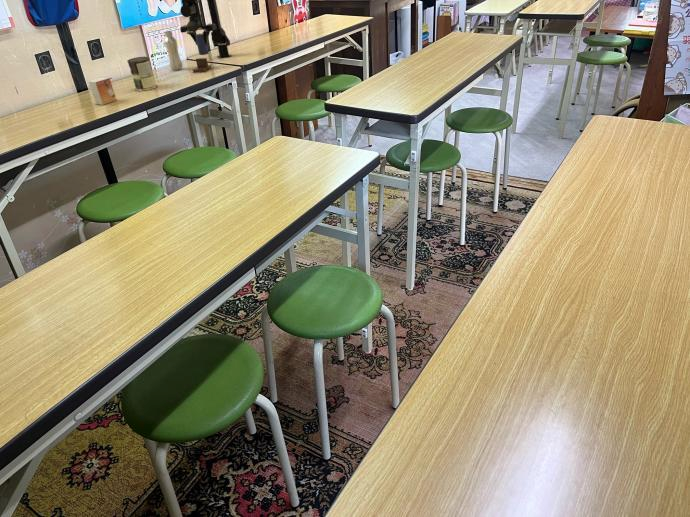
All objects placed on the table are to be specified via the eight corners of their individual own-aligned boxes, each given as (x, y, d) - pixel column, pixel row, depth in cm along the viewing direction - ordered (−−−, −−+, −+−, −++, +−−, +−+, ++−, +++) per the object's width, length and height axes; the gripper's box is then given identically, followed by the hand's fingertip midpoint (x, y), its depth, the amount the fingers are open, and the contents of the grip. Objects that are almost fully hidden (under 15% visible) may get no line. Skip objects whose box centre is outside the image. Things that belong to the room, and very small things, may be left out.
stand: (199, 68, 289) (197, 57, 285) (211, 68, 287) (208, 57, 284) (193, 72, 282) (190, 61, 278) (205, 72, 280) (202, 60, 277)
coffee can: (133, 91, 257) (124, 62, 249) (138, 86, 266) (130, 57, 258) (154, 89, 258) (146, 60, 250) (158, 84, 266) (150, 55, 258)
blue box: (203, 41, 288) (194, 29, 277) (211, 40, 287) (203, 29, 276) (200, 58, 286) (191, 47, 276) (209, 58, 285) (200, 47, 274)
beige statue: (170, 69, 292) (160, 31, 281) (182, 67, 295) (173, 29, 284) (172, 71, 287) (162, 33, 276) (184, 69, 290) (175, 31, 279)
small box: (102, 105, 241) (95, 82, 235) (95, 104, 244) (87, 81, 238) (117, 100, 246) (109, 77, 241) (109, 99, 249) (102, 76, 243)
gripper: (171, 17, 268) (179, 49, 277) (205, 15, 264) (212, 47, 273) (181, 13, 277) (188, 44, 286) (213, 11, 273) (220, 42, 282)
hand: (202, 44), depth 281 cm, fingers closed on blue box, 5 cm apart
